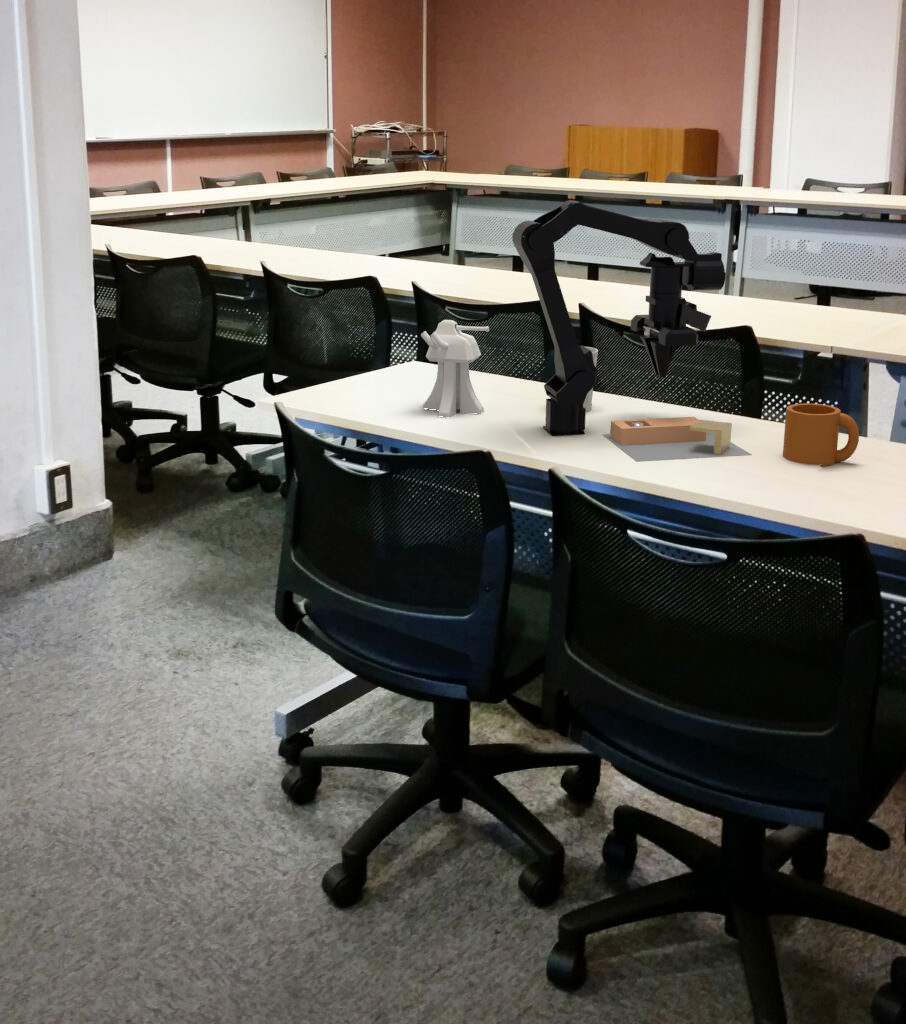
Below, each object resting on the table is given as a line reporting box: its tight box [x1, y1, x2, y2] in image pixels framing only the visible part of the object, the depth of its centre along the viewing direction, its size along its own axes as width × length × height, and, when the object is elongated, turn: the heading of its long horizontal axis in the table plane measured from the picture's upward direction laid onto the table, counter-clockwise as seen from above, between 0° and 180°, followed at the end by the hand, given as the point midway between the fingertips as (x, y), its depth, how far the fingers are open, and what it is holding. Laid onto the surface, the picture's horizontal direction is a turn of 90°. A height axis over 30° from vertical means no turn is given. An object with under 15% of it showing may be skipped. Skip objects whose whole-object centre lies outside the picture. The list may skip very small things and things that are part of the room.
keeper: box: [690, 419, 733, 455], centre depth 209 cm, size 6×6×4 cm
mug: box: [782, 403, 860, 467], centre depth 202 cm, size 9×12×9 cm
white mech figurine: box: [420, 319, 490, 418], centre depth 235 cm, size 12×13×18 cm
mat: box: [601, 432, 753, 463], centre depth 212 cm, size 21×18×1 cm
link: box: [609, 416, 706, 445], centre depth 216 cm, size 16×6×3 cm, turn 102°
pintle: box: [632, 422, 643, 427], centre depth 215 cm, size 2×2×3 cm
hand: (660, 376), depth 222 cm, fingers closed
